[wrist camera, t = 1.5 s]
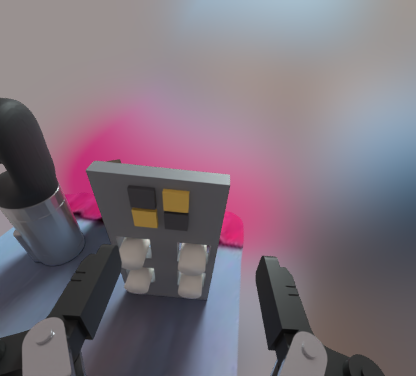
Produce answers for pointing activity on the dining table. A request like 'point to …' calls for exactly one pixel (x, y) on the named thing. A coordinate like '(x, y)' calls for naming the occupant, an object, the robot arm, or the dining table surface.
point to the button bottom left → (139, 280)
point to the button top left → (133, 253)
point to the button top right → (192, 259)
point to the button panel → (161, 215)
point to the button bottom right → (190, 286)
